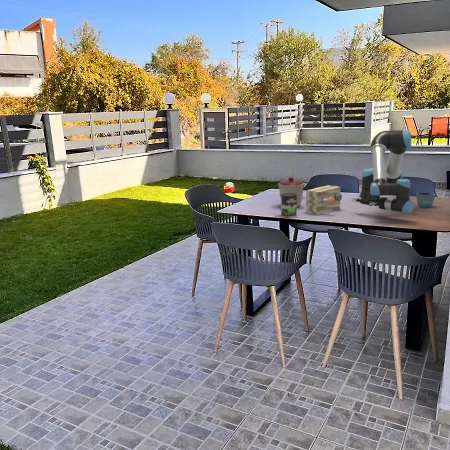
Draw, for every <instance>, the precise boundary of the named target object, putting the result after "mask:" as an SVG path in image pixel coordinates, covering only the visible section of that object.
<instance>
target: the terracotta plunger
mask: <svg viewBox="0 0 450 450" xmlns="http://www.w3.org/2000/svg"><path fill="white" fill-rule="evenodd" d="M321 202H327V203H328V205H333V204H334V202H335V199H334V198H333V197H329V198H328V199H325V198H321Z"/></svg>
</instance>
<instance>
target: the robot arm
mask: <svg viewBox="0 0 450 450" xmlns="http://www.w3.org/2000/svg"><path fill="white" fill-rule="evenodd" d="M369 148H370V152H371V156H372V167H370V168H365V169H363V170H362V174H361V190H360V193H359V195H358V197H357V196H353V197H352V202H355V203H360V204H362V205H366V206H370V207H372V206H374V207H378V208H379V209H380V210H384V211H390V212H397V213H398V212H399V213H405V214H406V213H407V214H410V213H412V212H413V210H414V209H415V205H414V204H415V203H414V201H413V200H412V199H411V200H410V196H411V195H410V194H411V180H410V179H406V178H404V177H403V170H402V169H401V165H402V161H403V157H404V155H405V153H407V150H411V148H412V135H411V131H410V130H408V129H398V130H397V129H396V130H382V131H380V132H378V133H377V134H375V136H374V137H373V139H372V140H371V143H370V147H369ZM387 150H389V155H388V159H387V161H386V151H387ZM386 162H387V163H386ZM385 196H388V197H385ZM389 196H392V197H394V196H395V198H392V197H389Z"/></svg>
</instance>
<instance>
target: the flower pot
mask: <svg viewBox="0 0 450 450" xmlns="http://www.w3.org/2000/svg"><path fill="white" fill-rule="evenodd" d="M415 194H416V201H417V205H418V207H421V208H422V209H423V208H431V207H432V205H434V202H435V197H436V194H434V193H431V192H416V193H415Z"/></svg>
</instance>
